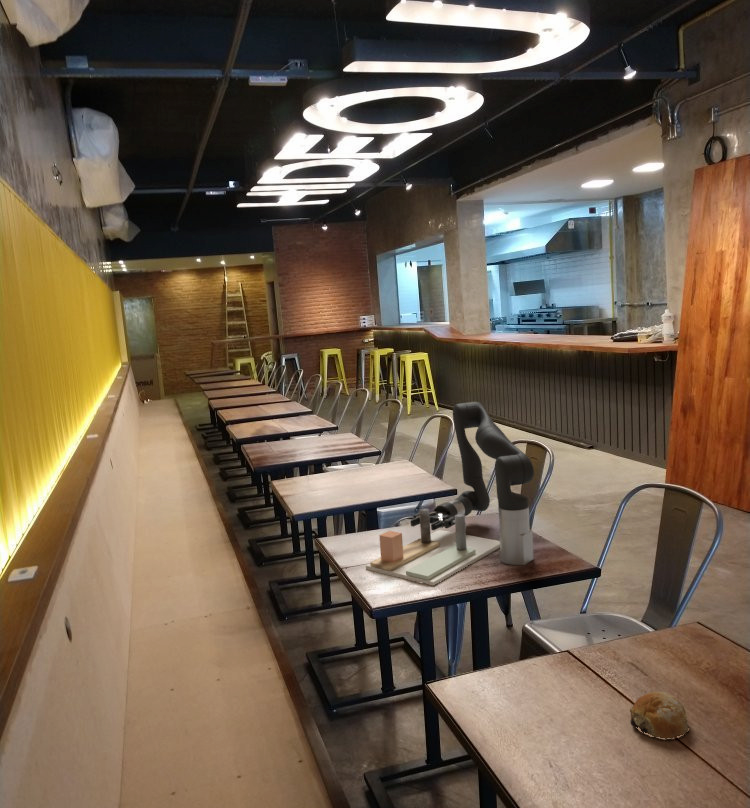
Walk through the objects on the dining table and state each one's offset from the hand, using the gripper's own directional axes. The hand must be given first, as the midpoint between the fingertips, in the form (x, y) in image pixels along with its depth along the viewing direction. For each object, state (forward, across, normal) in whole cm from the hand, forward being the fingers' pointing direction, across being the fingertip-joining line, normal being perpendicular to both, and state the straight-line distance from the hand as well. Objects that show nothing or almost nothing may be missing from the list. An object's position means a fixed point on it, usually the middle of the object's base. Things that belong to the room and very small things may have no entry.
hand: (421, 525), depth 233 cm
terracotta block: (+16, 0, +6) cm, 17 cm away
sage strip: (+9, +14, +7) cm, 18 cm away
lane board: (+2, +7, +9) cm, 11 cm away
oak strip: (+9, 0, +7) cm, 12 cm away
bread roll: (+54, +95, +9) cm, 110 cm away
